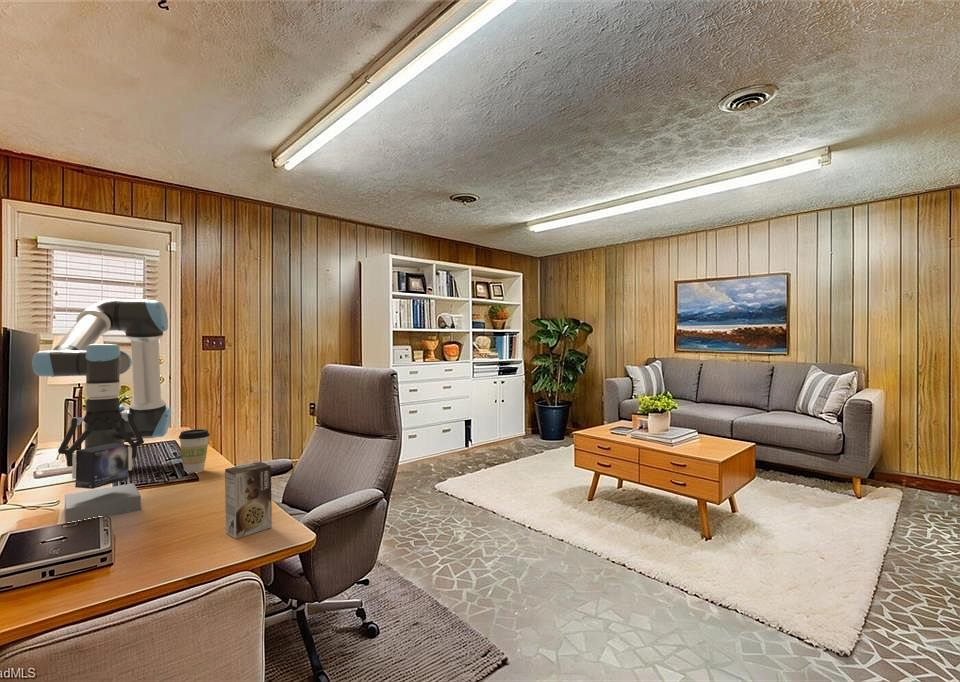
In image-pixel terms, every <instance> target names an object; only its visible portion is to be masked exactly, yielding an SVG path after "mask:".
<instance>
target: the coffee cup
mask: <svg viewBox="0 0 960 682" xmlns="http://www.w3.org/2000/svg"><path fill="white" fill-rule="evenodd" d="M209 437H210V433H209V431H208V429H205V428H204V429H203V428H201V429H199V428H197V429H188V430H183V431H181V432H180V433H179V435H178V439H179V442H180V443H179V444H180V447H179V448H180V454H181V460H182V461H181V462H182V467H183V472H184V471H185V472H191V471H193V472H201V471H203V470H204V471H205V464H206V460H207V453H208V445H209V443H208V441H209ZM204 471H203V472H204ZM201 473H202V472H201Z"/></svg>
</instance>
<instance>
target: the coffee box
mask: <svg viewBox="0 0 960 682" xmlns="http://www.w3.org/2000/svg"><path fill="white" fill-rule="evenodd" d="M224 471H225V472H224V474H225V475H224V478H225V480H224V481H225V483H224V484H225V486H224V487H225V488H224V489H225V491H224V493H225V495H224V496H225V498H224V499H225V500H224V501H225V502H224V503H225V505H224V506H225V508H224V509H225V534H227V535H229V536H230V537H232V538H234V539H240V538H243V537H246V536H250V535H253V534H255V533H258V532H261V531H265V530H268V529H270V528H273V521H272V520H273V519H272V518H273V515H272V512H273V511H272V507H273V506H272V505H273V504H272V466H271V465H270V464H268V463H265V462H263V461H256V462H251V463H248V464H242V465H238V466H232V467H229V468H225V469H224Z"/></svg>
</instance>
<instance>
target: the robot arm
mask: <svg viewBox="0 0 960 682" xmlns="http://www.w3.org/2000/svg"><path fill="white" fill-rule="evenodd" d="M168 319H169V318H168V313H167V310H166V307H165V305H164V303H162V302H161V301H159V300H151V299H122V298H121V299H118V298H111V299H104V300H102V301H99V302H97V303H93V304H92V305H89V306H88V307H85V308H84V310H82V311H81V312H80V313H79V314H78V316H76V321H75V322H76V323H75V324H74V325H73V326H72V328H70V330H69V331H68V332H67V333H66V334H65V335H64V337H63V338H61V340H60V341H59V342H58V343H57V344H56V346H55V347H54V348H53V349H52V350H47V349H46V350H40V351H36V353H34V354H33V357H32V362H31V365H32V371H33V373H34V374H35V375H36V376H38V377H51V378H54V377H56V378H57V377H83V376H85V379H86V380H85V382H86V383H85V397H86V398H88V399H86V400H85V415H84V417H76V416H73V417H71V419H70V427H69V429H68V430H67V431H66V434H65V435H64V438H63V440H62V442H61V443H60V445H59V448H58V449H57V453H58V454H59V455H66V467H67V468H69V467H71V477H72V478H71V479H72V480H76V455H77V454H76V452H75V451H77V450H78V448H79V447H80V446H81V445H82V443H83V442H84V449H85V448H90V447H95V446H100V445H105V444H110V443H117V444H125V441H126V442H127V443H128V445H130V446H128V471H129V472H130V471H133V459H135V458H137V448H138V446H141V445H143V444H144V443H145V441H144V439H156V438H162V437H165V436H166V434H167V433H168V430H169V428H170V423H171V417H172V408H171V407H169V406H167V404H166V401H165V400H163V399H162V395H161V392H162V391H161V390H162V389H161V367H160V364H161V363H160V344H159V343H160V341H159V340H160V339H161V338H162V337H164V332H166V331H168V329H169V320H168ZM108 331H109V332H110V331H120V332H122V331H123V332H125V337H126V338H127V339H129V340H130V348H131V356H130V355H129V354H128V353H127V352H125V351H123V350H120V346H119V345H118V344H115V343H111V344H110V343H102V344H100V343H96V342H97V341H98V340H99V338H100V337H101V335H104V334H106V333H108ZM131 367H132V368H131ZM129 369H131V370H132V386H133V387H132V390H133V391H132V392H133V401H132V402H131V404H129V408H128V409H127V408H125V406H124V405H120V401H121V400H120V397H118V396H120V390H121V389H120V376H121V375H122V374H125V373H126V372H127V371H129ZM83 422H84V423H83ZM82 423H83V425H84V431H83V432H82V433H81V434H80V435H79V436H78V438H77V439H76V440H75V442H73V443H72V444H71V446H70V447H69V448H67V447H68V445H69V443H70V442H71V439H72V437H73V435H74V433H75V432H76V430H77V427H78V426H80V425H81V424H82ZM134 440H135V441H134Z"/></svg>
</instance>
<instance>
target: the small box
mask: <svg viewBox="0 0 960 682" xmlns="http://www.w3.org/2000/svg"><path fill="white" fill-rule="evenodd" d="M128 447H129V443H128V444H126V443H124V444H117V443H110V444H105V445H100V446H95V447H90V448H85V447H84V448H81V449H76V450H75V451H76V452H75V453H76V479H75V485H74V488H76V489H77V488H78V489H79V488H80V489H89V490H95V489H98V488H101V487H104V486H108V485H111V484H115V483H119V482H122V481H125V480H128V476H129V472H128V471H129V470H128Z"/></svg>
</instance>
